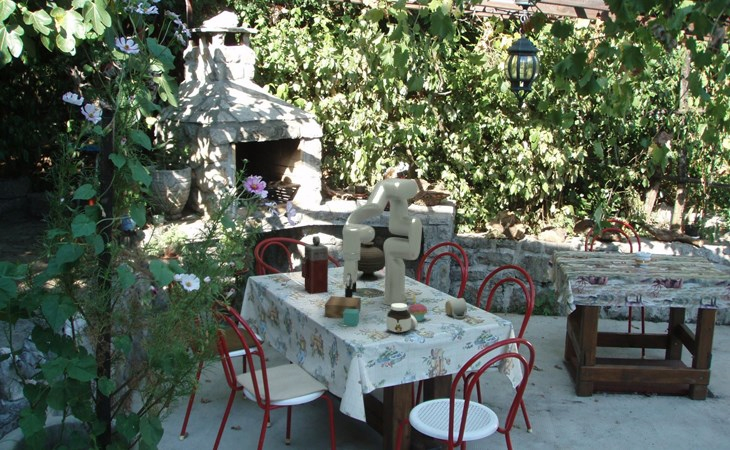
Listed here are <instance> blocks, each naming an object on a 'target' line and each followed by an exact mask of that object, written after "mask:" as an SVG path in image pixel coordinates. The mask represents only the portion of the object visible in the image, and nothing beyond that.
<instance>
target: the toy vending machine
mask: <svg viewBox="0 0 730 450" xmlns="http://www.w3.org/2000/svg"><path fill="white" fill-rule="evenodd" d="M328 272H329V247H328V246H326V245H324V244H321V239H320V236H318V235H317V236H312V244H311V243H310V244H305V245H304V256H303V257H302V260H301V277H302V278H303V279H304V291H305V292H307V293H309V294H310V295H315V294H322V293H328V291H329V287H328V286H329V285H328V284H329V278H328V277H329V273H328Z"/></svg>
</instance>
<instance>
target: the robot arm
mask: <svg viewBox="0 0 730 450" xmlns="http://www.w3.org/2000/svg"><path fill="white" fill-rule="evenodd" d="M418 190H419V186H418V183H417V182H416V181H415V180H414V179H410V178H398V177H388V178H384V179H380V180H378V181H377V182H376V184H375V185H374V187H373V189H372V191H371V193H370V194H369V196H368V198H367V200H366V202H365V204H363V205H362V206H360V207H358V208H356V209H354V211H352V212H351V213H350V214H349V215H348V217H347V219H346V221H345V223H344V225H343V227H342V233H341V234H342V260H343V261H344V263H343V276H342V282H343V283H344V284H345V289H344V293H345V294H344V297H346V298H352V297H353V296H354V295H353V293H356V292H357V280H358V272H359V271H358V260H360V248H361V244H363V243H368V242H372V241H373V240H374V239H375V235H376V231H375V228H374V227H372V226H371V225H366V224H362V222H363V221H365V220H369V219H372V218H375V217H379V216H381V214H383V212H384V210H385V208H386V206H387V205H388V202H389V217H388V231H389V233H390V234H392V235H397V236H404V237H408V238H402V237H395V236H394V237H388V238H387V239H386V240H384V243H383V253H384V255H385V265H384V271H385V272H384V274H385V275H384V297H383V298H381V303H382V304H383V305H386V306H391V305H392V304H394V303H403V304H406V305H407V304H408V302H409V301H414V295H410V294H409V295H408V294H407V292H406V290H405V289H406V288H405V287H406V264H405V262H404V260H408V261H414V260H417V259H418V257H419V255H420V254H421V253H420V252H421V242H422V234H423V233H422V231H423V225H422V221H421V219H420V218H419V217H418V216H414V215H413V216H411V215H409V213H408V212H409V203H408V200H410V199H413V198H414V197H416V195H417V193H418ZM360 223H361V224H360Z"/></svg>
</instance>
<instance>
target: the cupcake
mask: <svg viewBox="0 0 730 450" xmlns="http://www.w3.org/2000/svg"><path fill="white" fill-rule="evenodd" d="M413 296H414V300H413V302H414V303H413V304H410V305H409V307H407V310H408V311H409V312H410V314H411V315H413V316H414V317H415V318H416V320H417V322H421V321H423V320H424V317H425V315H426V314H427V313H428V308H427V306H426V305H424V304H423V303H417V302H416V300H417V299H416V295H415V294H413Z"/></svg>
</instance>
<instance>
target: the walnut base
mask: <svg viewBox="0 0 730 450" xmlns="http://www.w3.org/2000/svg"><path fill="white" fill-rule="evenodd" d="M361 299H362V298H361V297H352V298H346V297H345V296H333V295H331V296H330V297H329V298H328V300H327V301H326V302H325V304H324V318H325V317H328V318H327V319H342V320H343V312H344V310H345V309H359V313H360V312H361V311H362V310H361V309H362V308H361V307H362V306H361V305H362V302H361V301H362V300H361Z"/></svg>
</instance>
